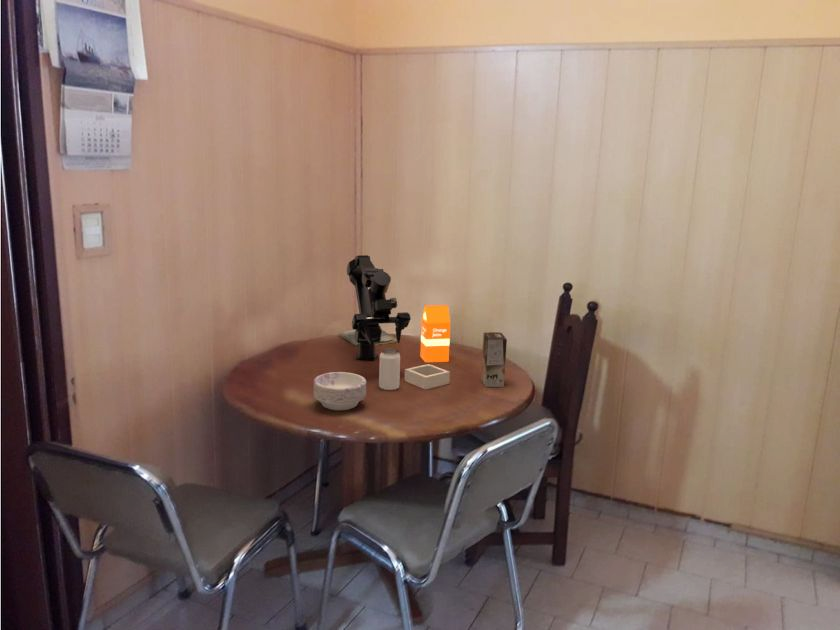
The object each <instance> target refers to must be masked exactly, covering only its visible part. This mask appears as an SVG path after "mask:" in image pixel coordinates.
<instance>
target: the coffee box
mask: <svg viewBox="0 0 840 630" xmlns="http://www.w3.org/2000/svg"><path fill="white" fill-rule="evenodd" d="M482 335H483V338H482V355H481V374H480V379H481V382H482V383H483V385H484V387H486V388H497V387H498V388H504V386H505V385H504V384H505V374H506V359H507V358H506V356H507V343H508V341H507V338H506V337H505V335H504V334H503V333H502V332H494V331H491V332H483V334H482Z"/></svg>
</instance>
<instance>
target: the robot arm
mask: <svg viewBox="0 0 840 630" xmlns="http://www.w3.org/2000/svg"><path fill="white" fill-rule="evenodd" d="M346 274H347V276H348V278H349V282H350V283H351V284H352V285H353V286H354V289H355V294H356V300H357V306H358V307H357V308H358V313H355V314H354V315H353V317H352V321H351V328H352V330H356V331H355V334H354V337H355V341H356V342H357V343H359V347H358V355H356V358H355V359H356V360H363V361H374V360H375V359H376V358H377V357H378V354H376V351H375V350H376V345H375V342H380V339H381V333H382V331H383V329H382V328H381V327H382V326H381V324H394V325H395V328H394V329H395V335H396V337H395V338H396V340H397V344H400V341H401V336H402V335H401V334H402V330H405V328H408V326H409V324H410V321H411V319H412V318H411V314H410V313H409V312H407V311H405V312H397V314H396V316H390V315H391V314H392V310H393V309H396V308H397V307H398V301H397V297H390V298H389V299H387V298H386V293H387V292H388V289H389V286H390V284H391V279H392V277H391V276H390V274H389V273H387V271H384V269H383V268H378V267H375V265H374V264H373V262H372V260H371V257H370V255H367V254H366V255H365V254H362V255H361V254H360V255H359V254H358V255H356V256H355V257H354V259H352V260H349V262H348V264H347V266H346Z"/></svg>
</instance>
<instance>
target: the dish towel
mask: <svg viewBox="0 0 840 630" xmlns="http://www.w3.org/2000/svg"><path fill="white" fill-rule="evenodd" d="M355 331H356V329H355V330H354V329H352V330H347V331H342V332H339V334H338V336H339V337H340V338H341V337H342V338H341V339H343V340H344V339H345V340H344V341H346V342H347V341H348V342H347V343H349V342H350V343H351V344H350V343H349V344H350V345H352V344H353V345H352V346H354V347H356V348H359V347H358V346H359V343H357V342H356V341H355V337H354V334H355ZM389 343H391V344H398V342H397V337H394V336H392V335H391V334H390V333H388V332H386V330H383V329H382V333H381V339H380V342H375V346H380V345H379V344H382V345H390V344H389Z"/></svg>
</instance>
